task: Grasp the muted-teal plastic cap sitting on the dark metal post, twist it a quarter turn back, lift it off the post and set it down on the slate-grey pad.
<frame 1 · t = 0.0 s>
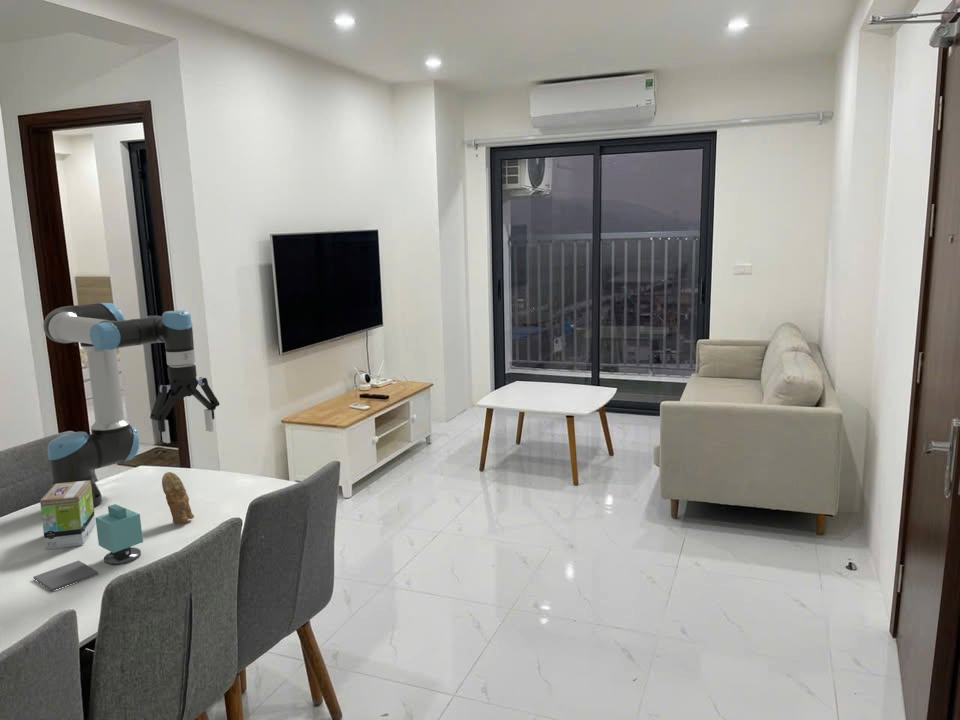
hand: (188, 436, 206), 28 cm above the table, fingers open, 13 cm apart
figurine: (181, 520, 216), on the table
tea box: (71, 538, 206), on the table
cap: (121, 543, 191), point 4 cm above the table, touching post
pad: (66, 577, 181), on the table
post: (122, 557, 192), on the table
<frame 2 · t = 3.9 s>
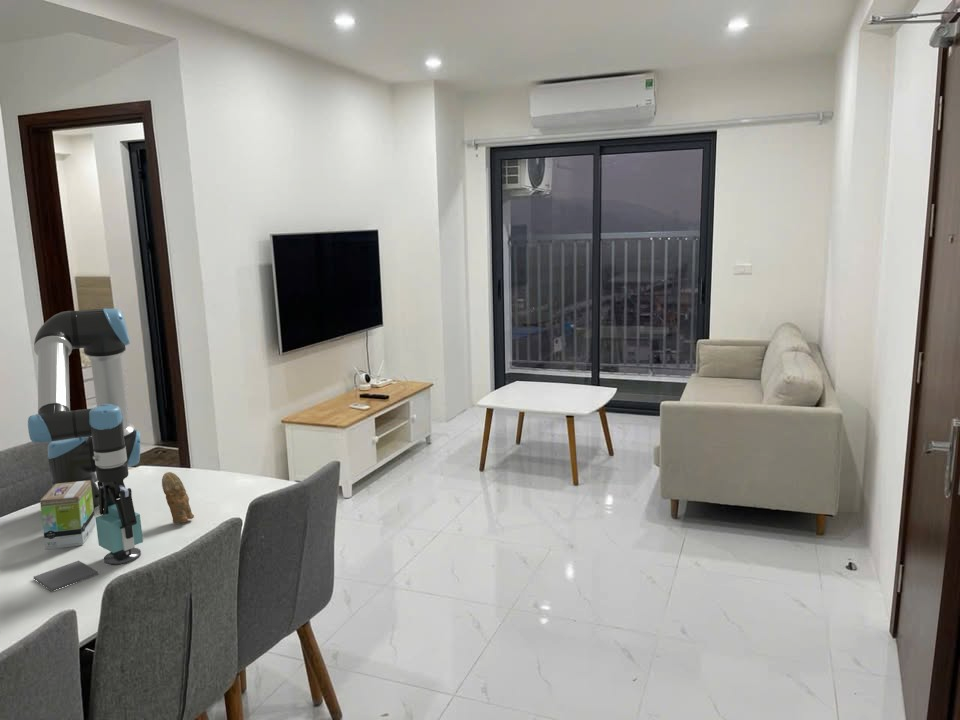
hand: (121, 544, 191), 4 cm above the table, fingers closed on cap, 8 cm apart
cap: (121, 543, 191), point 4 cm above the table, touching gripper, post
everything else where it was.
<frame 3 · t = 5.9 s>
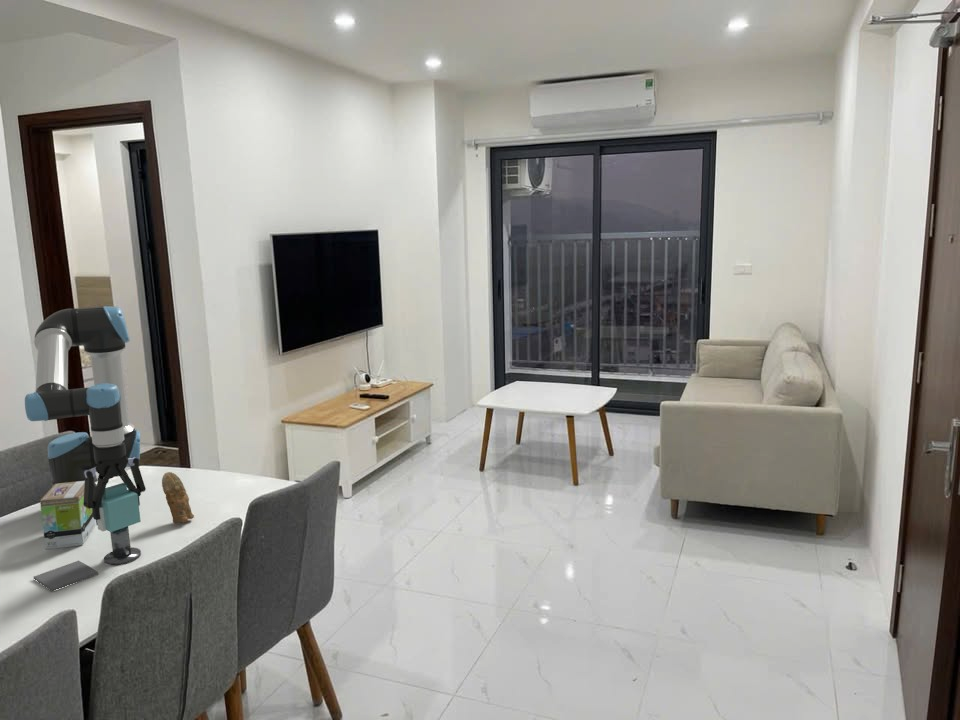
hand: (118, 524, 190), 10 cm above the table, fingers closed on cap, 8 cm apart
cap: (118, 523, 190), point 10 cm above the table, touching gripper
everything else where it was.
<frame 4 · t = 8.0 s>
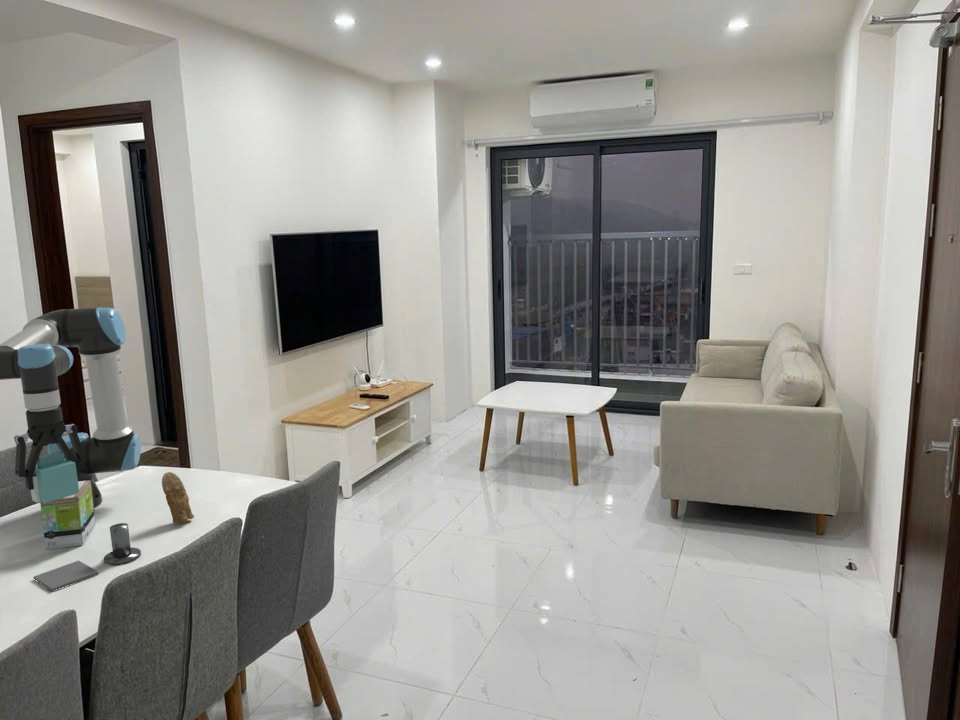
hand: (55, 495, 177), 22 cm above the table, fingers closed on cap, 8 cm apart
cap: (55, 494, 177), point 22 cm above the table, touching gripper
everything else where it was.
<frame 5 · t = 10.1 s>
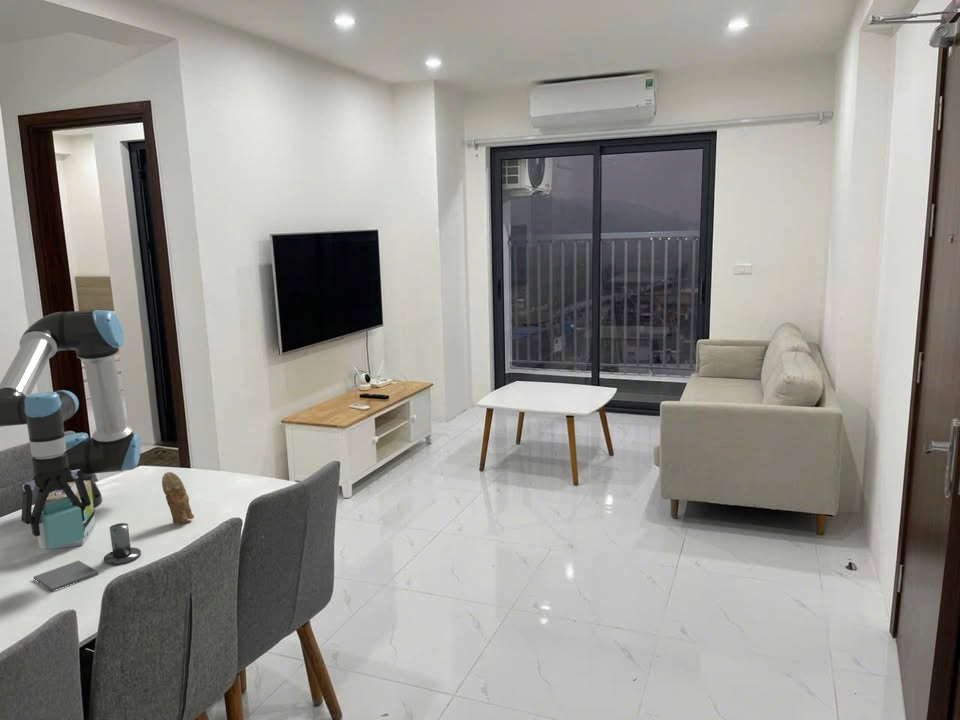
hand: (61, 540, 179), 10 cm above the table, fingers closed on cap, 8 cm apart
cap: (61, 539, 179), point 10 cm above the table, touching gripper
everything else where it was.
when the fingers open (2 cm above the table, at t = 12.1 s): cap drops 2 cm, resting on pad.
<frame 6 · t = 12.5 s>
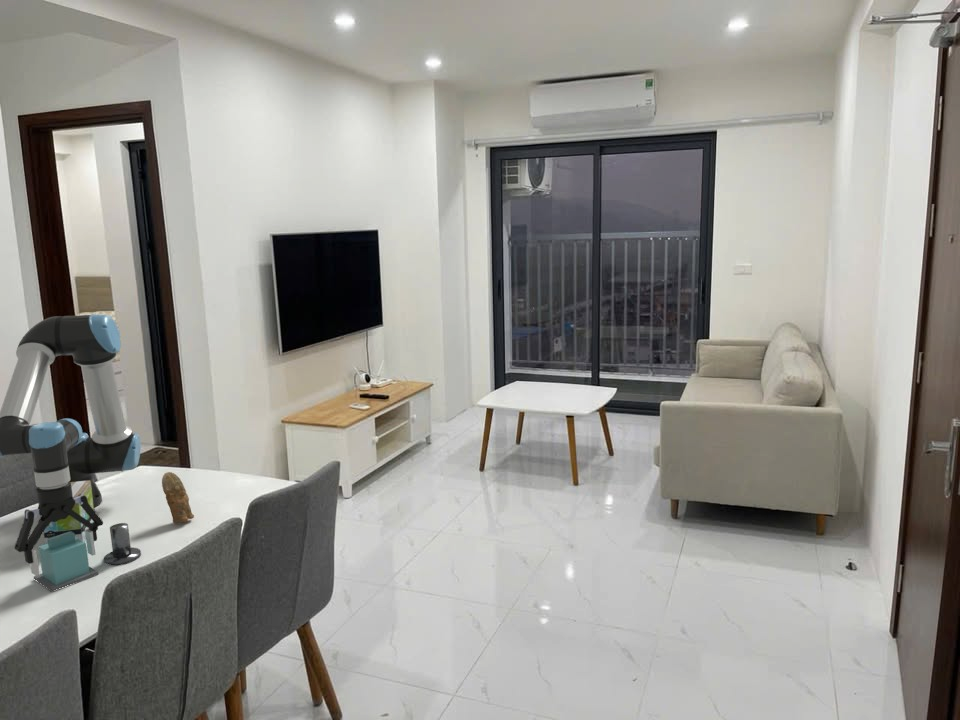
hand: (64, 563, 181), 4 cm above the table, fingers open, 13 cm apart
cap: (66, 574, 181), point 1 cm above the table, touching pad
everything else where it was.
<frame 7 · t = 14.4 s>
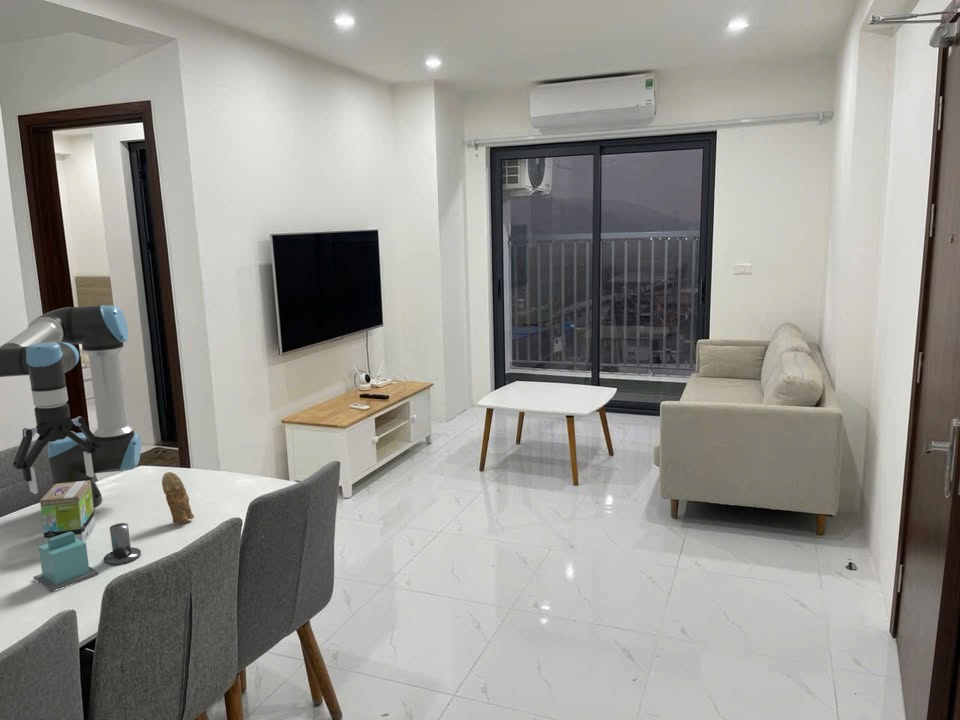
hand: (63, 484, 182), 23 cm above the table, fingers open, 13 cm apart
nothing on the table moved.
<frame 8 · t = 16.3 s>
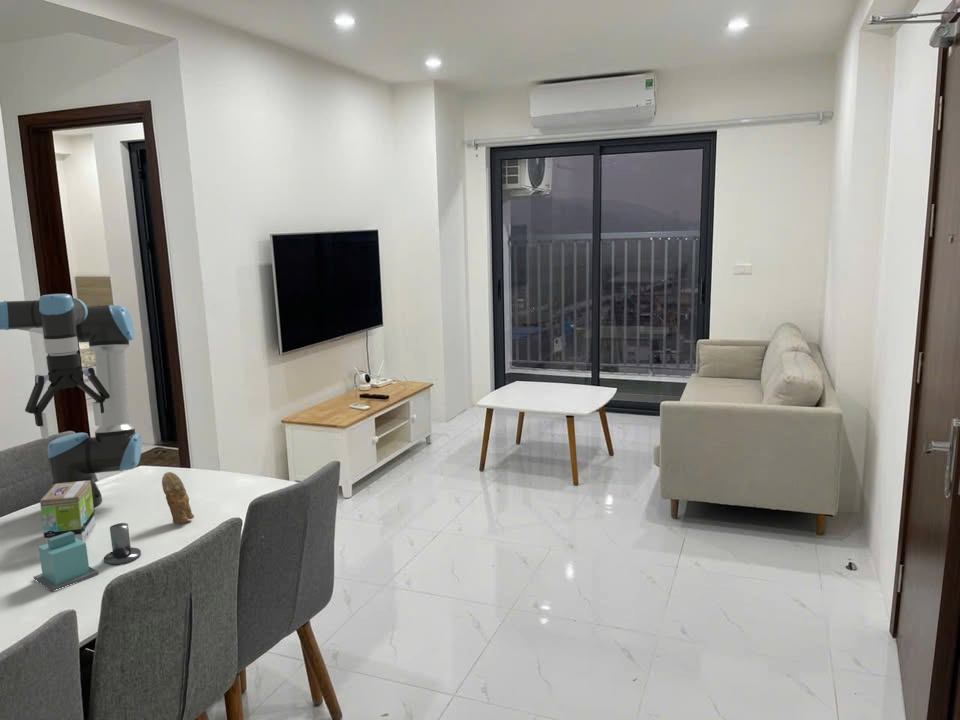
hand: (72, 431, 189), 35 cm above the table, fingers open, 13 cm apart
nothing on the table moved.
at the end: cap inside the target area on the pad (0.1 cm from its centre), point 0.8 cm above the pad's base; cap tilted 0°; the gripper is holding nothing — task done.
